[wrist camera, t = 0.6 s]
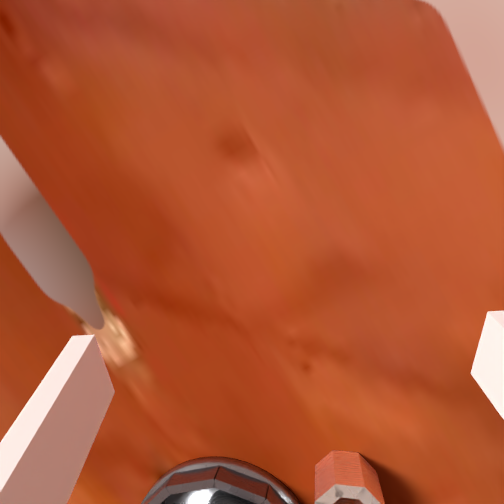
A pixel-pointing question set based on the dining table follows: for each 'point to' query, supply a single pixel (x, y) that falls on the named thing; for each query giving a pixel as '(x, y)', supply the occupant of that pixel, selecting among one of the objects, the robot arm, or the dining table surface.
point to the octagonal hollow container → (346, 480)
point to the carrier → (218, 484)
